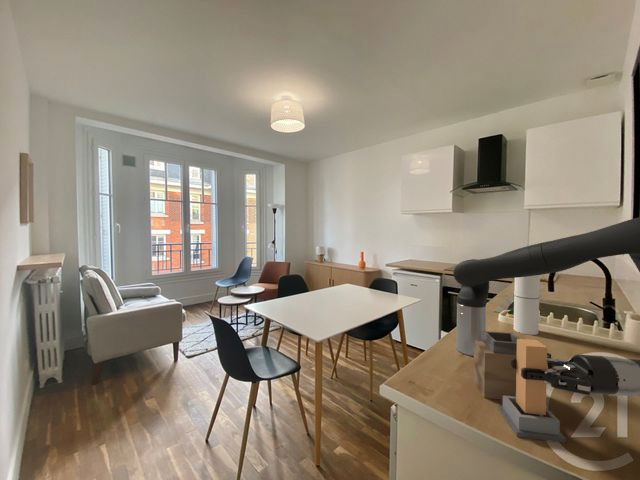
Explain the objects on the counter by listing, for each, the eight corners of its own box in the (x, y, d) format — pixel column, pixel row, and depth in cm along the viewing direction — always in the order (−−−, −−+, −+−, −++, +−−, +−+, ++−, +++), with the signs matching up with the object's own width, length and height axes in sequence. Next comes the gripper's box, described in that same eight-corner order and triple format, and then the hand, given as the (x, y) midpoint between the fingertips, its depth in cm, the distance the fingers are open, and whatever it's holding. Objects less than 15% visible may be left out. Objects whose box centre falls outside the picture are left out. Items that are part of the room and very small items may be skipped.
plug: (515, 401, 64) (516, 338, 64) (535, 403, 63) (536, 339, 63) (525, 412, 60) (526, 346, 60) (545, 415, 59) (547, 347, 59)
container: (527, 327, 122) (529, 260, 121) (543, 334, 114) (545, 263, 113) (508, 327, 122) (510, 260, 121) (523, 335, 114) (525, 263, 112)
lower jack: (497, 409, 67) (498, 393, 67) (539, 413, 66) (539, 397, 65) (516, 436, 58) (517, 418, 58) (565, 442, 57) (565, 423, 57)
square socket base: (473, 380, 80) (474, 330, 79) (519, 385, 77) (520, 333, 77) (484, 397, 72) (485, 341, 71) (535, 402, 70) (537, 345, 69)
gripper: (581, 344, 65) (502, 339, 69) (638, 375, 51) (535, 367, 55) (580, 374, 66) (501, 368, 69) (636, 413, 52) (534, 403, 55)
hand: (517, 368), depth 62 cm, fingers closed on plug, 4 cm apart
